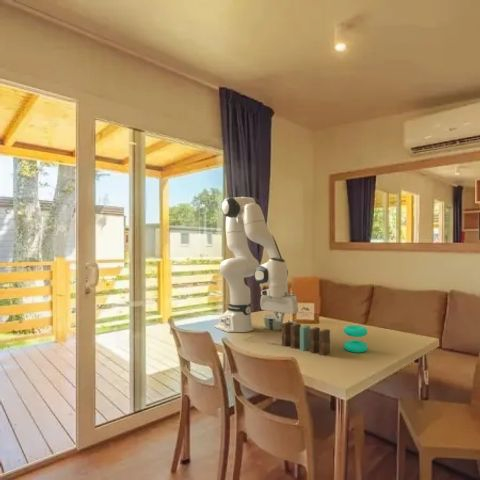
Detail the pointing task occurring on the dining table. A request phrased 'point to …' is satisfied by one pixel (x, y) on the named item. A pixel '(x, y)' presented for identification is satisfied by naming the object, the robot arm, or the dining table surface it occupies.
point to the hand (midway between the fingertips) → (279, 321)
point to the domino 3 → (304, 337)
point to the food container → (272, 322)
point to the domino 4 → (314, 339)
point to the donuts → (355, 344)
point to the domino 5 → (324, 342)
